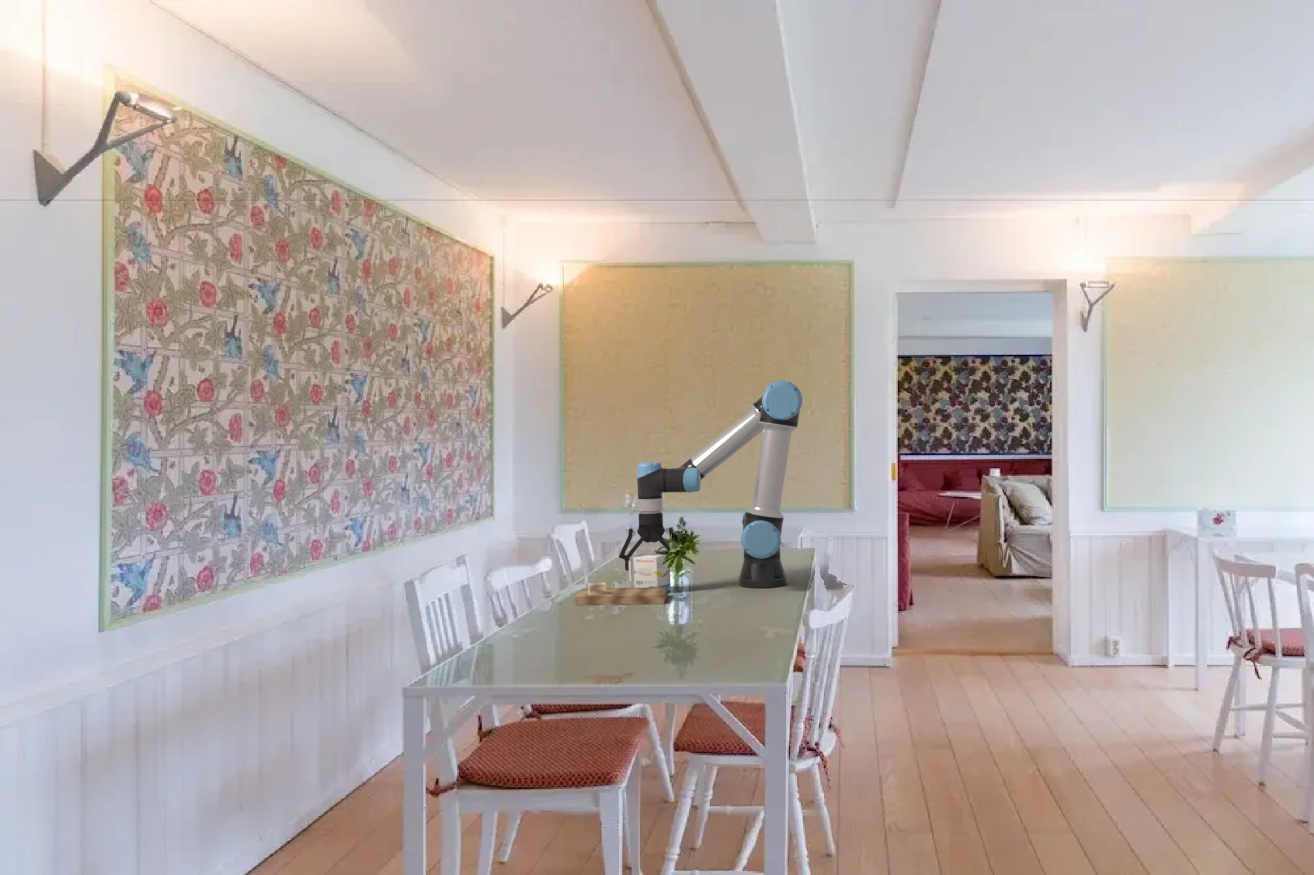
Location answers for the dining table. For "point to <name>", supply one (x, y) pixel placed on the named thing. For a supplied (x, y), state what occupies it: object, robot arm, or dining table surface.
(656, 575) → the ink box
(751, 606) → the dining table surface
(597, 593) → the beech offcut
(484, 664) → the dining table surface
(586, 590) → the board
